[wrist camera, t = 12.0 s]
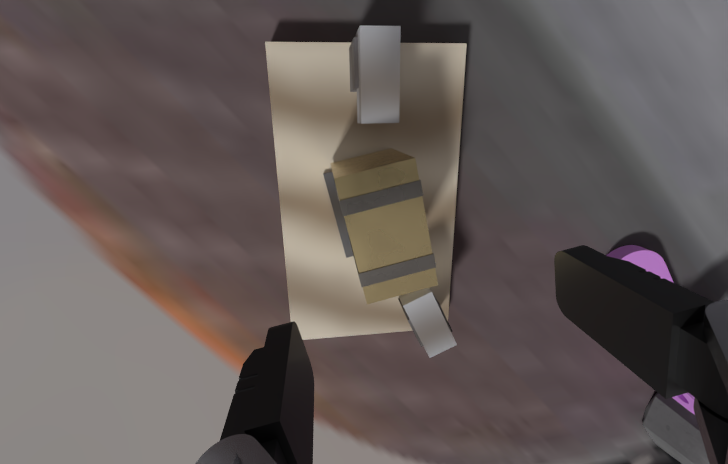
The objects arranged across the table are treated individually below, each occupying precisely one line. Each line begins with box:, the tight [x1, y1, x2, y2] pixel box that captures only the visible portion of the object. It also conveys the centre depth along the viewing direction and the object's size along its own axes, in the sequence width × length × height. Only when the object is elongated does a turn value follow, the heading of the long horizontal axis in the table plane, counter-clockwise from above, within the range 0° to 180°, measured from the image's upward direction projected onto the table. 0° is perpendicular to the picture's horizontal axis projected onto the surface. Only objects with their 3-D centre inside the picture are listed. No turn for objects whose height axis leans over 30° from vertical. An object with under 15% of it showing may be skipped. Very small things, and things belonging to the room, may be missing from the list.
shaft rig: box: [265, 25, 467, 358], centre depth 23 cm, size 20×12×6 cm, turn 1°
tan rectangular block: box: [330, 148, 438, 304], centre depth 21 cm, size 7×4×6 cm, turn 13°
